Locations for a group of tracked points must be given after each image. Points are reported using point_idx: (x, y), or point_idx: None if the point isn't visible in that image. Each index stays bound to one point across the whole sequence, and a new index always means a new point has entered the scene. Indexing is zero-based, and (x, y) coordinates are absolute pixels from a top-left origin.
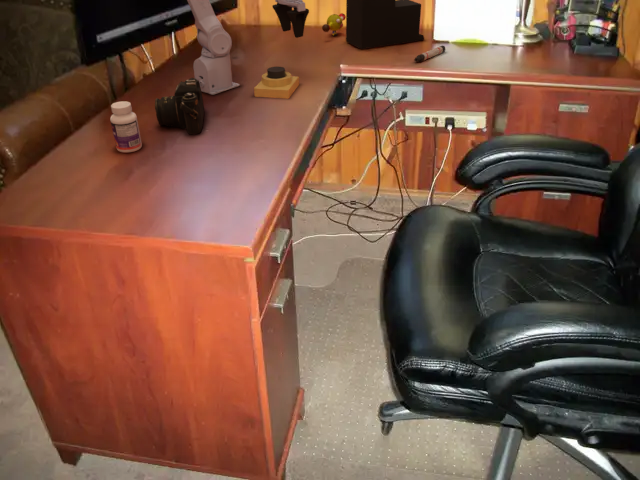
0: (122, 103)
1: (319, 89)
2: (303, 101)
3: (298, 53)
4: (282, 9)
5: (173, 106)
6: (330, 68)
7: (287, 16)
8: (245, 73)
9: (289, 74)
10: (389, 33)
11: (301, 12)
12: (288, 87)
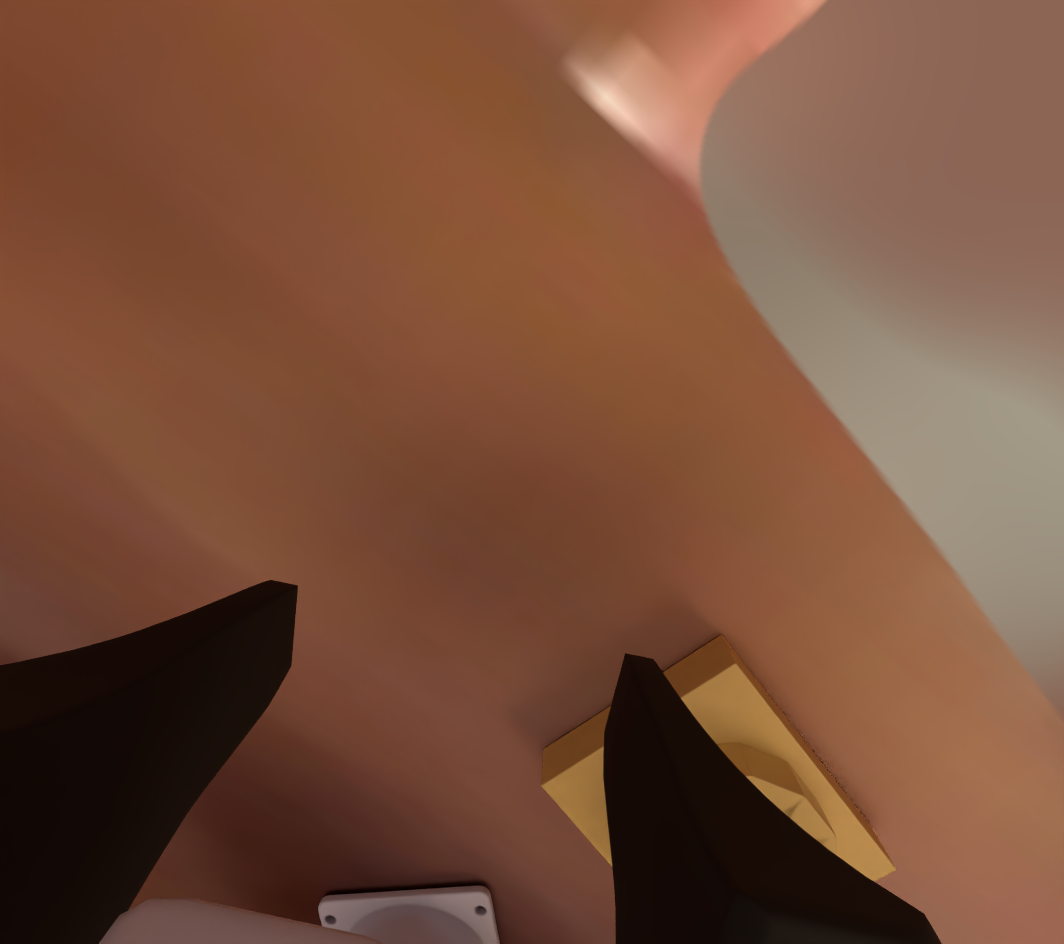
0: None
1: (896, 598)
2: (975, 795)
3: (79, 153)
4: (73, 908)
5: None
6: (595, 223)
7: (178, 718)
8: (289, 731)
9: (784, 799)
10: None
11: None
12: (858, 838)
